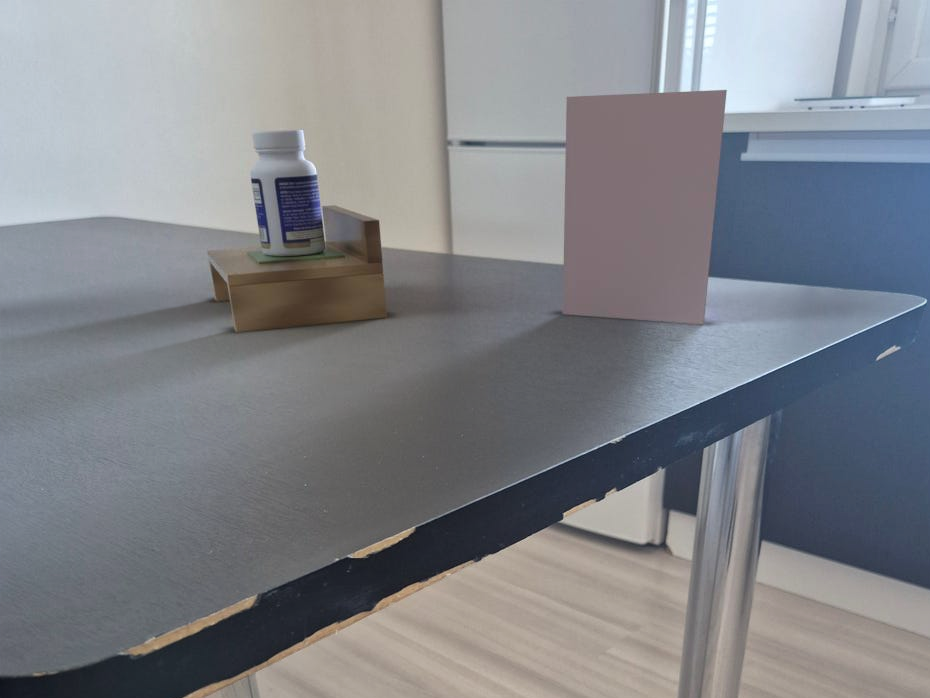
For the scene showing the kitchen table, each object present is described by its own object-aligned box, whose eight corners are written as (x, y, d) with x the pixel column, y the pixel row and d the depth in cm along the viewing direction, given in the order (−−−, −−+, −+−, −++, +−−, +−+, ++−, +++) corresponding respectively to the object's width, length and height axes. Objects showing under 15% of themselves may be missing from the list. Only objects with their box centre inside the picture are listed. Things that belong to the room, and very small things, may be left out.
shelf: (237, 336, 67) (219, 230, 63) (215, 302, 80) (200, 213, 76) (387, 320, 71) (379, 220, 67) (343, 291, 84) (334, 205, 80)
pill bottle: (335, 248, 75) (323, 128, 70) (309, 257, 70) (293, 130, 66) (279, 248, 76) (263, 130, 71) (250, 257, 72) (231, 132, 67)
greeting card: (712, 326, 65) (737, 89, 57) (630, 338, 62) (644, 91, 55) (625, 303, 74) (636, 95, 66) (549, 313, 71) (551, 97, 64)
